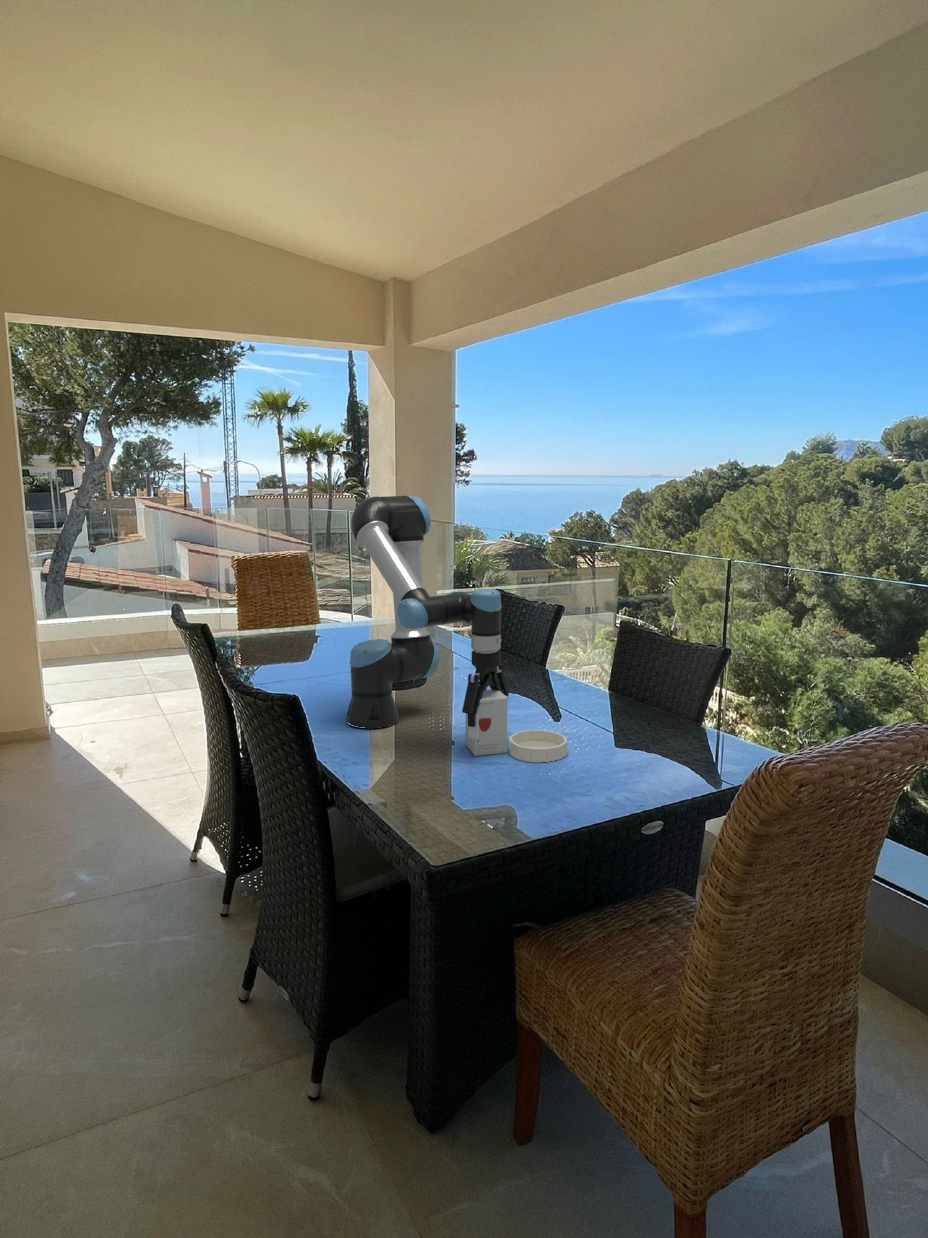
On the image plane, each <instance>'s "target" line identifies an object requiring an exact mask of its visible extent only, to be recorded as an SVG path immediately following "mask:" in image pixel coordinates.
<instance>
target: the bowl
mask: <svg viewBox="0 0 928 1238" xmlns="http://www.w3.org/2000/svg"><path fill="white" fill-rule="evenodd" d="M508 739H509V740H508V741H509V743H508V744H509V750H508V751H509V755H510V756H511V757H513V758H514V759H516V760H519V761H524V762H526V763H528V762H529V763H541V762H548V763H551V762H550V761H552V762H556V761H555V760H557V761H559V760H558V759H561V760H562V759H564V758H565V757H567V755H568V739H567V737H566V736H565V735H562V734H561V733H559V732H557V731H553V730H552V731H551V730H545V729H527V730H526V729H525V730H522V731H516V732H514V733H512V734H511V735H509V738H508ZM564 756H565V757H564ZM563 757H564V758H563Z"/></svg>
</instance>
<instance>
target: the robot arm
mask: <svg viewBox="0 0 928 1238" xmlns="http://www.w3.org/2000/svg"><path fill="white" fill-rule="evenodd" d="M431 519H432V518H431V514H430V510H429V508H428V506H427V504H426V503H425V501H424V500H423V499H422V498H421V497H418V496H415V495H414V496H412V495H393V496H391V495H389V496H371V497H368V498H365V499H363V500H361V502H359V504H357V506H356V507H355V508H354V510H353V513H352V515H351V519H350V528H351V533H352V535H353V538H354V539H355V541H356V543H357V544H358V546H359V547H360V548H362V549H365V550H366V553H367V554H368V555H369V557H370V559H371V560H372V562H373V563H374V565H375V566H376V568H377V570H378V571H379V573H380V574H381V576H382V577H383V579H384V581H385V583H386V584H387V585H388V587H389V588H390V590H391V592H392V597H393V611H394V624H395V626H394V627H395V631H394V632H393V633H392V634H391V636H390V640H388V639H383V638H379V639H369V640H365V641H362V642H359V643H356V644H355V645H354V646H353V647H352V648H351V651H350V657H349V658H350V659H349V660H350V661H349V664H350V680H351V681H350V683H351V684H350V685H351V688H350V689H351V699H350V701H349V705H348V707H347V708H348V709H347V712H346V715H345V716H346V723H347V722H348V723H350V724H351V725H354V726H358V727H365V728H379V727H386V728H388V727H387V726H389V725H392V726H394V725H393V724H395V723H396V722H397V723H399V721H398V720H399V718H400V715H399V711H398V709H397V706H396V702H395V700H394V696H393V684H396V683H397V684H398V683H401V682H403V683H404V682H408V681H413V680H422V679H424V678H428V677H431V676H433V675H434V673H435V672H436V671H437V669H438V668H439V665H440V659H441V657H440V654H441V653H440V648H439V646H438V642H437V641H436V640H435V639H434V638H431V632H430V631H428V629H426V628H427V627H428V628H429V627H435V626H441V625H442V626H443V625H449V624H457V623H465V624H470V625H471V636H470V637H471V638H470V639H471V641H470V642H471V645H470V646H471V649H472V650H471V665H472V666H473V667H474V668H475V673H474V674H473V673H469V674H468V675H467V676H468V677H467V687H466V690H465V695H464V696H465V697H464V699H463V700H464V701H463V704H462V711H461V712H462V713H463V714H466V713H467V714H468V738H473V739H479V714H477V710H478V707H479V704H480V700H481V698H482V696H483V693H484V691H485V690H488V687H489V689H491V690H497V691H500V692H501V693H503V694H504V695H505V696H506V697H507V698H508V699H509V695H510V694H509V689H508V685H507V681H506V677H505V672H504V670H505V669H504V664H502V652H501V651H500V650H501V648H502V645H501V643H502V636H501V635H502V632H501V631H502V607H503V606H502V599H501V595H502V594H501V592H500V591H499V590H497V589H492V588H491V589H490V588H477V589H473V591H471V593H466V592H464V591H450V592H448V593H447V594H442V595H435V596H431V595H430V594H429V593H428V592H427V590H426V589H425V588H424V586H423V583H422V571H421V557H420V556H421V555H420V547H421V546H422V545H423V542H424V541H425V540H424V537H425V535H427V534H428V532H429V531H430V527H431V522H432V521H431ZM473 709H474V710H473ZM397 723H396V724H397ZM396 724H395V725H396ZM389 727H390V726H389Z"/></svg>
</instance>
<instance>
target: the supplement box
mask: <svg viewBox="0 0 928 1238" xmlns="http://www.w3.org/2000/svg"><path fill="white" fill-rule="evenodd" d="M507 697H508V696H505V695H504V694H503V693H501V692H500V691H497V690H491V688H489V689H486V690H485V691H484V693H483V696H482V698H481V700H480V704H479V707H478V710H477V714H479V739H473V738H468V714H467V713H465V740H464V741H465V742H464V743H465V746H466V747H467V748H468V749H469V751H470V752H471V753H472V754H473V756H474V757H476V756H485V755H486V756H487V755H488V756H489V755H496V754H498V755H499V754H506V753H508V706H509V705H508V702H509V701H508V699H509V697H508V698H507ZM473 710H474V709H473Z"/></svg>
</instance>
